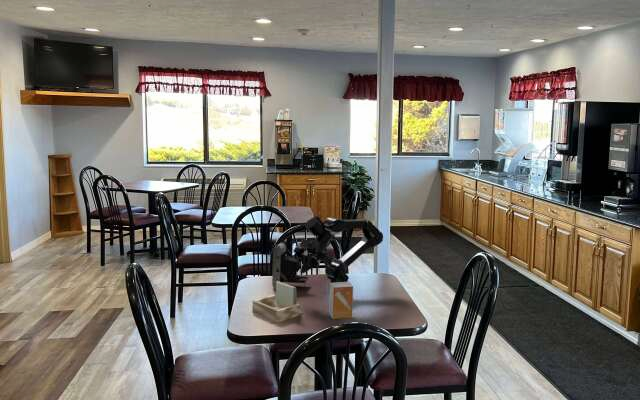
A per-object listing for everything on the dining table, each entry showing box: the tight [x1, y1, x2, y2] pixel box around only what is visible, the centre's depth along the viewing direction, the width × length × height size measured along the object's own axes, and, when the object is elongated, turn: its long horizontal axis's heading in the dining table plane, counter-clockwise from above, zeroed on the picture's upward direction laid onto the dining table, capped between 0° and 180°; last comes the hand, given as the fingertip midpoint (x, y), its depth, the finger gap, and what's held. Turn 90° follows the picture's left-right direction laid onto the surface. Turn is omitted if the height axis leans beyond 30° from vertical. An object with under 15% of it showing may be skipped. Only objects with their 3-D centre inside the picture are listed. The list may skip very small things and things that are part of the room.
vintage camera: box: [271, 241, 310, 289], centre depth 252 cm, size 10×15×20 cm, turn 78°
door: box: [275, 281, 297, 307], centre depth 221 cm, size 1×12×10 cm, turn 45°
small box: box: [328, 281, 354, 320], centre depth 216 cm, size 8×6×13 cm
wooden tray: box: [251, 294, 302, 323], centre depth 219 cm, size 12×16×4 cm
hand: (302, 272), depth 228 cm, fingers closed
